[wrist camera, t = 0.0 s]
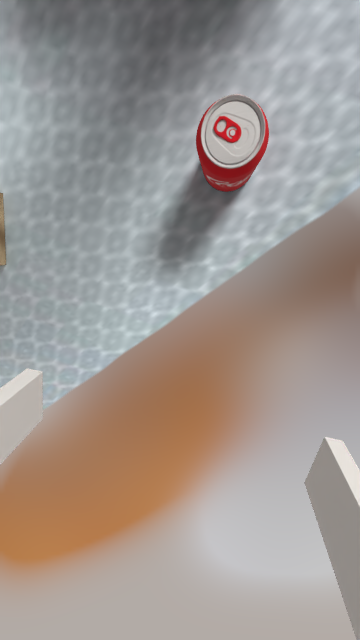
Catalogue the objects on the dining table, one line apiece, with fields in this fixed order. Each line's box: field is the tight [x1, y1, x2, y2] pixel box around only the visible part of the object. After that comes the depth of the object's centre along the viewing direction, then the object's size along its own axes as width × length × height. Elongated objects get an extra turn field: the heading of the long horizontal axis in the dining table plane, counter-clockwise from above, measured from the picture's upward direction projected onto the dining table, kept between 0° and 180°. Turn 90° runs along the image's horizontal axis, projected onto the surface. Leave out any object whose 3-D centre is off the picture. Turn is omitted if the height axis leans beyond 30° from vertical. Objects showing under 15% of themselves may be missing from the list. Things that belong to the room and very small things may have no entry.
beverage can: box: [196, 94, 269, 192], centre depth 28 cm, size 6×6×12 cm
